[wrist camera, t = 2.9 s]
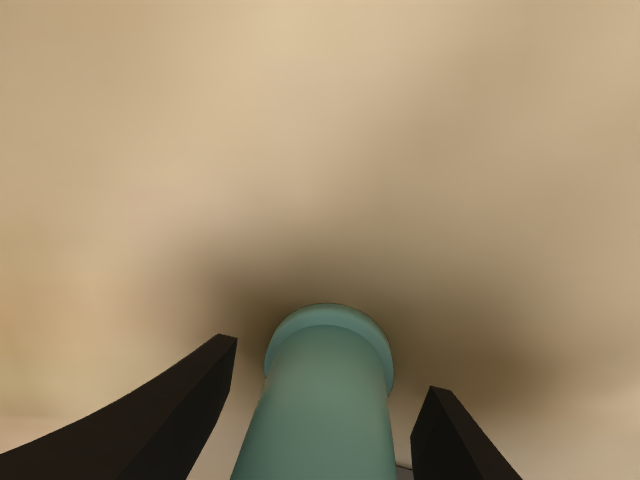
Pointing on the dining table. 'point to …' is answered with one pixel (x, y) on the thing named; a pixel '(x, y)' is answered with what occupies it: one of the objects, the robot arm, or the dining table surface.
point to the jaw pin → (322, 401)
